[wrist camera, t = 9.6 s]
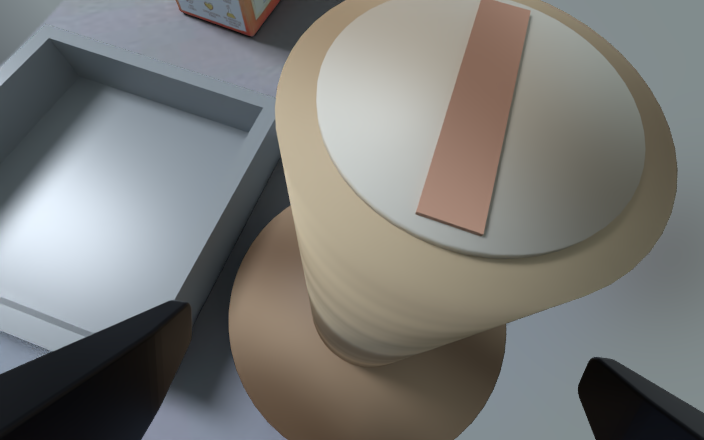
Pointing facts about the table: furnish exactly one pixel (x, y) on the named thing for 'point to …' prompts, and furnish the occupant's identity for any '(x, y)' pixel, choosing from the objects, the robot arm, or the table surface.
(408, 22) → the oak canister
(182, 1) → the cracker box
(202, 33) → the table surface
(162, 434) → the table surface
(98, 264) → the grey tray
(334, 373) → the tan wooden disc
